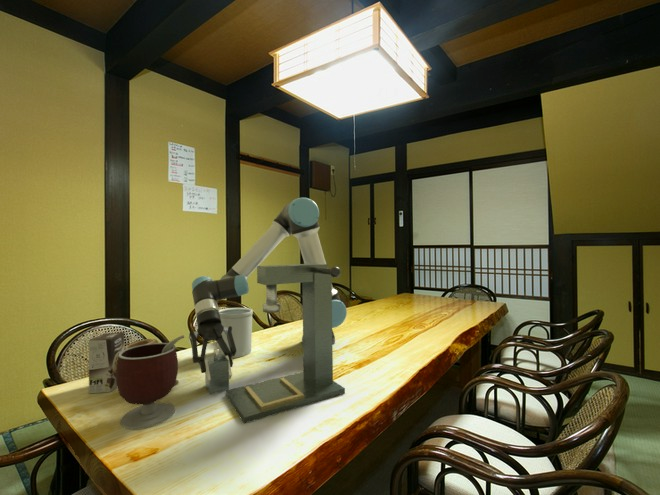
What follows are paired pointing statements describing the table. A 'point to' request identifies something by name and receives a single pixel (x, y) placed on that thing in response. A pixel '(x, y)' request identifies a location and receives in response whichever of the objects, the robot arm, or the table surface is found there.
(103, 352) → the coffee box
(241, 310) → the utensil holder
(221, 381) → the block
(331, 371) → the press
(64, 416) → the table surface
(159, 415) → the mate gourd
